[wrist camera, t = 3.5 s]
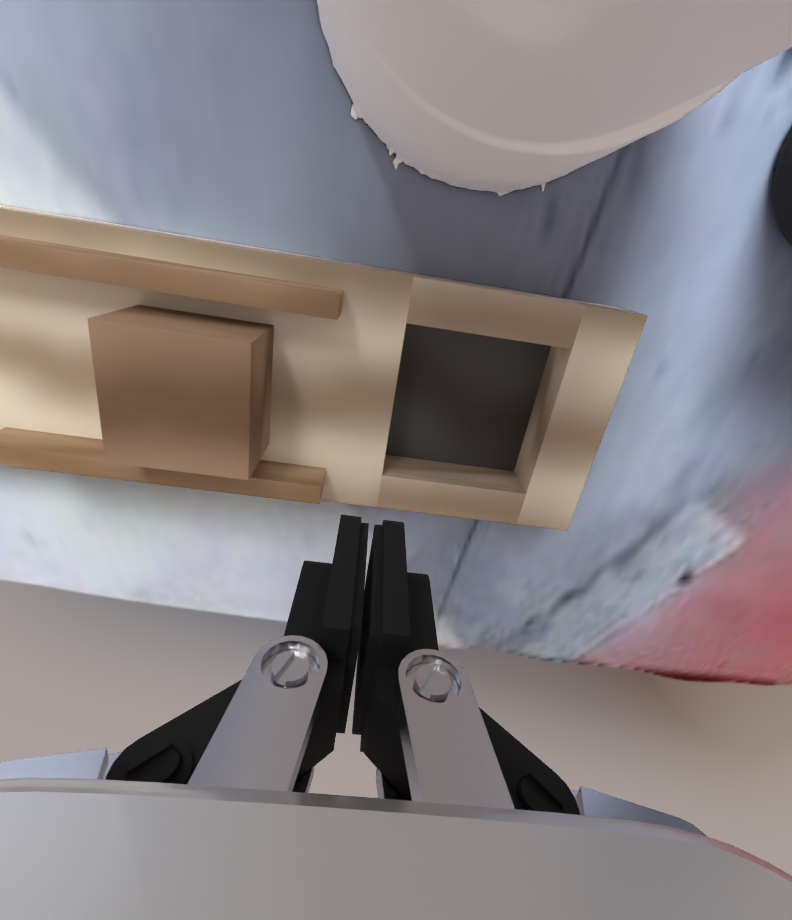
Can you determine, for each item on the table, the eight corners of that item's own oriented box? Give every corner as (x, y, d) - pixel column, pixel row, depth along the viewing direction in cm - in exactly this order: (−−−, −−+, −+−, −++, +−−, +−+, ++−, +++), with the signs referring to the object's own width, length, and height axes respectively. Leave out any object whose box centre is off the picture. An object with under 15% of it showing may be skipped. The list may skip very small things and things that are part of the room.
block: (138, 304, 21) (87, 318, 17) (273, 325, 21) (251, 342, 18) (148, 427, 23) (105, 462, 20) (269, 443, 24) (248, 480, 20)
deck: (-226, 167, 21) (-395, 147, 16) (618, 307, 24) (671, 322, 20) (-137, 415, 26) (-247, 453, 21) (550, 503, 29) (580, 551, 25)
